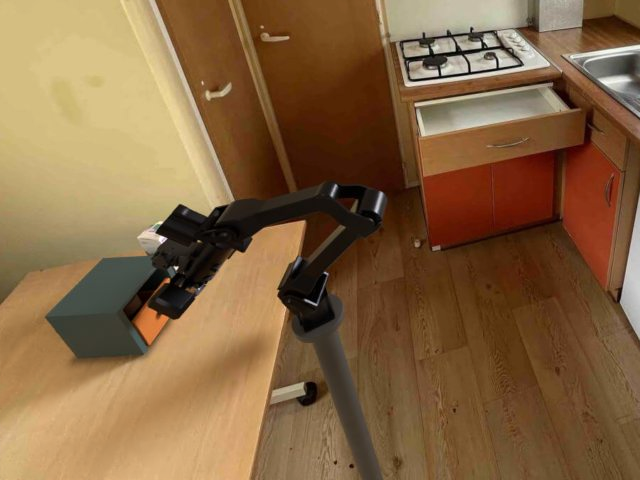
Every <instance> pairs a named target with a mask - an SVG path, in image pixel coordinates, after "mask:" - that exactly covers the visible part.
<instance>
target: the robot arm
mask: <svg viewBox="0 0 640 480" xmlns="http://www.w3.org/2000/svg"><path fill="white" fill-rule="evenodd" d="M339 199H342V200H343V199H354V200H355V201H354V202H353V204H352V206H351V209H350V210H349V209H348V208H347V207H346V206H345V205H344V204H343V203H341V202H340V201H339ZM388 202H389V201H388V197H387V196H386V194H385V193H384V192H383V191H381V190H379V189H376V188H373V187H370V186H367V185H364V184H361V183H340V182H337V181H335V180H325V181H323V182H322V183H320V184H317V185H313V186H310V187H306V188H304V189H299V190H296V191H292V192H289V193H286V194H282V195H279V196H274V197H272V198H267V199H259V198H256V197H250V198H241V199H236V200H233V201H231V202H230V203H228V204H227V203H226V204H223V205H217V206H215V207H214V208H213V209H212V211H210V213H209V214H208V216H207V215H205V214H202V213H201V212H198V211H196V210H194V209H191V208H190V207H188V206H186V205H185V204H182V203H179V204H177V206H176V207H175V208H174V209H173V210H172V212H171V213H170V214H169V215H168V217H167V218H166V219H165V220H164V221H163V223H162V224H161V226H160V227H159V228H158V229H157V231H156V232H155V234H158V235H160V236H163V237H165V238H167V239H166V240H165V241H164V242H163V243H162V244H161V245H160V246H159V247H158V248H157V251H156V252H155V253H154V256H153V257H151V260H152V266H153V267H154V268H158V269H161V270H167V269H168V268H169V267H171V266H173V267H178V269H177V270H176V272H177V273H176V274H175V275H174V276H173V277H172V278H171V280H170V283H165V284H164V285H163V286H162V287H161V288H160V289H159V290H158V291H157V292H156V293H155V294H154V295H153V296H152V297H151V298H150V300H149V301H148V302H147V307H149V308H151V309H153V310H155V311H157V312H159V313H161V314H163V315H165V316H167V317H169V319H170V320H173V321H176V320H179V319H180V318H181V317H182V316H184V314H185V312H186V311H187V310H188V309H189V308H190V307H191V305H192V304H193V303H194V301H196V298H197V297H198V296H199V295H200V294H201V293H202V292H203V290H204V289H205V288H206V287H207V284H208V283H209V282H210V281H212V280H213V279H214V277H215V276H216V275H217V274H218V273H219V271H220V269H221V268H222V266H223V265H224V264H225V262H226V261H227V260H230V259H231V258H232V256H233V255H234V254H235V253H236V252H239V253H241V254H244V253H246V252H247V250H248V248H249V246H250V245H251V243H252V241H253V236H255V235H256V234H258V233H259V232H260V231H262V230H263V229H265V228H267V227H270V226H272V225H276V224H279V223H283V222H287V221H290V220H294V219H297V218H301V217H305V216H308V215H311V214H312V215H313V214H316V213H319V212H321V213H324V214H327V215H329V216H330V217H331V218H333V220H335V222H337V223H338V224H339V225H338V226H337V228H336V229H335V230H334V231H333V232H332V233H330V235H329V236H327V238H326V239H325V240H324V241H323V242H322V243H321V244H320V245H319V246H318V247H317V248H316V249H315V250H314V251H313V252H312V253H311V255H309V256H308V257H302V256H300V255H299V254H297V255H296V257H295V259H294V260H293V261H291V262H288V265H287V267H286V269H285V271H284V273H283V276H282V277H281V280H280V282H279V283H278V285H277V288H276V290H277V291H278V292H277V293H276V297H277V298H278V299H279V301H280V302H281V304H282V306H284V307H285V308H286V309H287V310H288V311H289V312H290V313H291V314H292V315H296V316H297V318H298V321H299V324H300V326H302V325H303V329H304V332H305V333H307V332H309V331H311V330H313V329H315V328H317V327H319V326H321V325H323V324H325V323H327V322H329V321H331V320H333V319H335V317H336V316H335V313H334V310H333V307H332V304H331V300H330V297H329V296H328V294H329V292H328V290H327V286H326V285H327V283H328V281H329V277H330V273H329V272H327V270H329V268H330V267H331V266H332V265H333V264H334V263H335V262H336V261H337V260H338V259H340V257H341V256H342V255H343V254H344V253H345V252H346V251H347V250H348V249H350V247H351V246H352V245H353V244H354V243H356V241H357V240H361V239H367V238H368V237H370V236H372V235H373V234H375V233H376V232H378V231H379V230H380V229H381V227H382V224H383V220H384V217H385V213H386V209H387V205H388ZM333 316H334V317H333ZM307 329H308V330H307Z"/></svg>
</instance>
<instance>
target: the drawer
mask: <svg viewBox="0 0 640 480" xmlns="http://www.w3.org/2000/svg"><path fill="white" fill-rule="evenodd" d="M165 283H170V279H169V278H165V279H164V281H163V282H162V283H161V284H160V286H159V287H158V288H157V290H146V291H138V292H137V293H136V294H137V296H138V297H139V299H140V300H141V302H142V304H143V305H144V306H143V307H142V309H141V310H140V311H139V312H138V314H137V315H136V316H135V317H134V319H133V320H132V321H131V324H132V325H133V327H134V328H135V330H136V331H137V333H138V334H139V336H140V337H141V339H142V340H143V342H144V343H145V345H146V346H147V347H148V346H150V345H151V344H152V343H153V342H154V340H155V339H156V337H157V336H158V334H159V333H160V332H161V330H162V329H163V327H164V326H165V325H166V323H167V322H168V320H169V319H170V318H169V317H167V316H165V315H163V314H161V313H159V312H157V311H155V310H153V309H151V308H149V307H147V302H148V301H149V300H150V298H151V297H152V296H153V295H154V294H155V293H156V292H157V291H158V290H159V289H160V288H161V287H162V286H163V285H164V284H165Z"/></svg>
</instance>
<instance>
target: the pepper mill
mask: <svg viewBox="0 0 640 480" xmlns="http://www.w3.org/2000/svg"><path fill="white" fill-rule="evenodd" d="M143 306H144V305H143V304H142V302H141V300H140V299H139V297H138V296H137V294H135V295H134V296H133V298H132V299H131V300H130V301H129V302H128V304H127V305H126V306H125V307H124V308H123V312H124V313H125V315H126V316H127V318H128V319H129V321H130V322H131V321H132V320H133V319H134V317H135V316H136V315H137V314H138V312H139V311H140V310H141V309H142V307H143Z"/></svg>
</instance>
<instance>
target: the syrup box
mask: <svg viewBox="0 0 640 480" xmlns="http://www.w3.org/2000/svg"><path fill="white" fill-rule="evenodd" d="M163 222H164V221H160V220H155V221H154V222H152V223H151V224H150V225H149V226H148V227H146V229H145V230H144V231H142V232H141V233H140V234H139V235H138V236H137V237H136V239H137V241H138V242H139V244H140V246H141V247H142V249H143V251H144V253H145V254H146V256H152V255H154V253H155V252H156V251H157V248H158V247H159V246H160V245H161V244H162V243H163V242H164V241H165V240H166V239H167V238H165V237H163V236H160V235H158V234H155V232H156V231H157V229H158V228H159V227H160V226H161V224H162V223H163ZM171 267H172V269H173V271H174V273H175V274H176V273H177V272H176V270H177V269H178V267H173V266H171Z"/></svg>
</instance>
